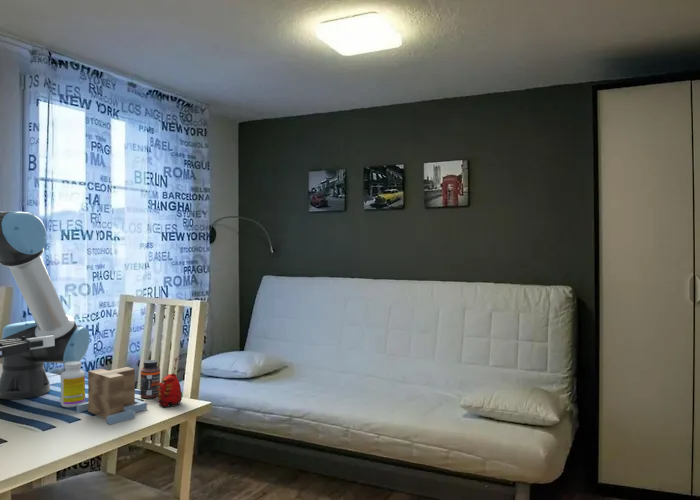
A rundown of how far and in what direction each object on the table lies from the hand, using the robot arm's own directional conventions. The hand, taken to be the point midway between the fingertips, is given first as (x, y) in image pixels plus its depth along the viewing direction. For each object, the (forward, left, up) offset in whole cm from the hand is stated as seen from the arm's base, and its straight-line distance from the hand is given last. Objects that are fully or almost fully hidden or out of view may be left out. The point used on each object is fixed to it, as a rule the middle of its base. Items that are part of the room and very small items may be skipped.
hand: (53, 340), depth 152 cm
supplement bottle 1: (-16, +13, -24) cm, 32 cm away
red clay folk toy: (+6, +32, -24) cm, 41 cm away
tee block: (0, +18, -24) cm, 30 cm away
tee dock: (0, +18, -24) cm, 30 cm away
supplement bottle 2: (-6, +33, -24) cm, 42 cm away
